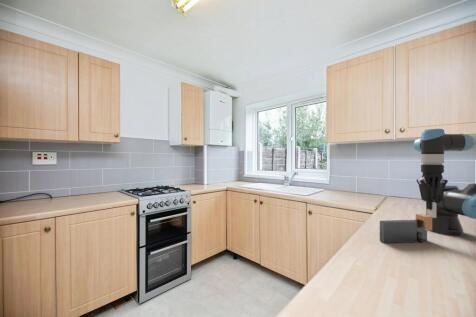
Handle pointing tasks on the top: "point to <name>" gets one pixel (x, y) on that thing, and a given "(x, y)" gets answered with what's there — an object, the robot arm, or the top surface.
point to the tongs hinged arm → (399, 231)
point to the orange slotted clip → (425, 221)
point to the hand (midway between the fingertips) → (431, 216)
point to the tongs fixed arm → (420, 230)
